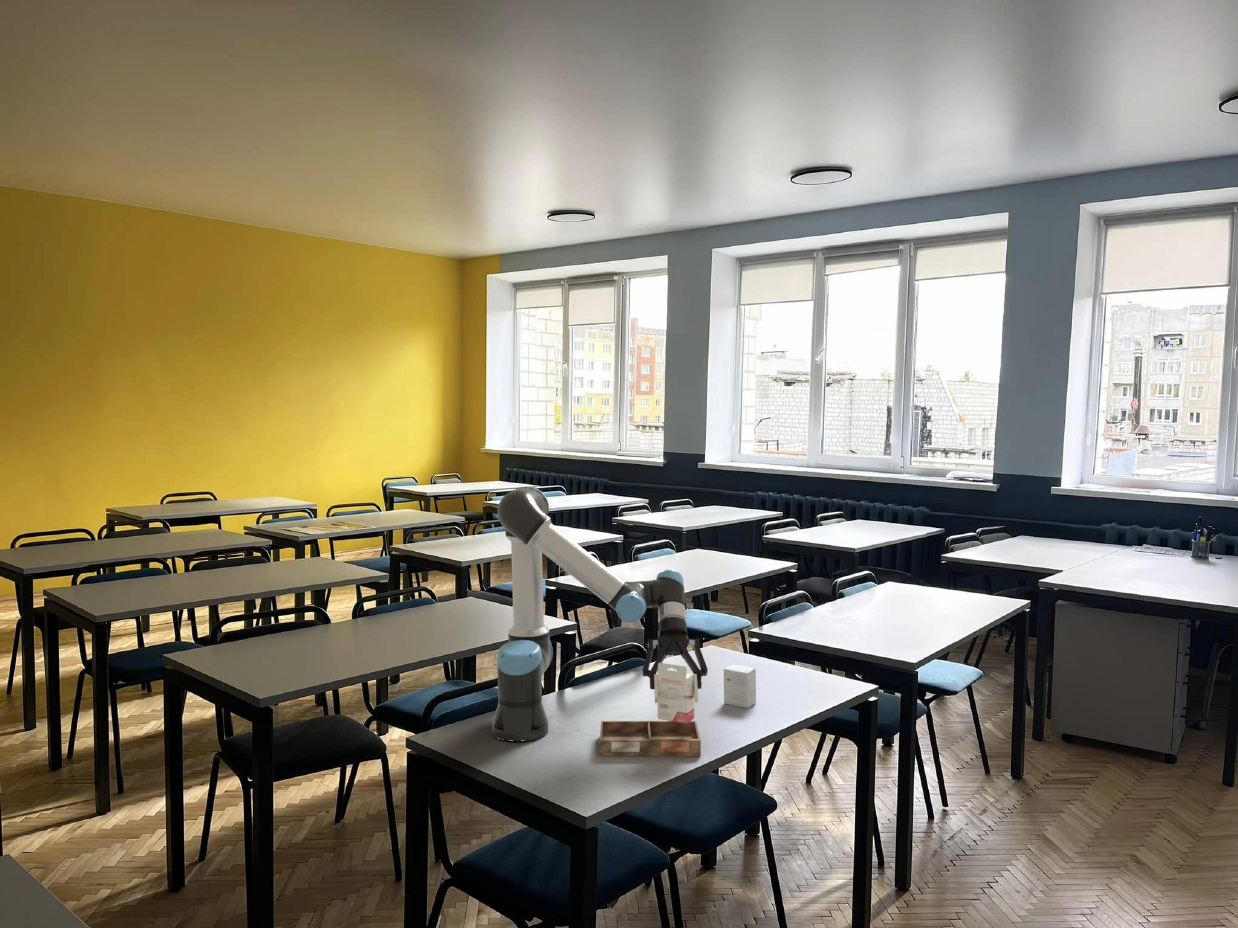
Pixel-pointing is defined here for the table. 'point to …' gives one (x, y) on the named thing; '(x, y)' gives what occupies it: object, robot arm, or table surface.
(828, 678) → the table surface
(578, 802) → the table surface
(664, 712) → the ink cartridge box
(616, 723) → the wooden compartment tray
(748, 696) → the small box
